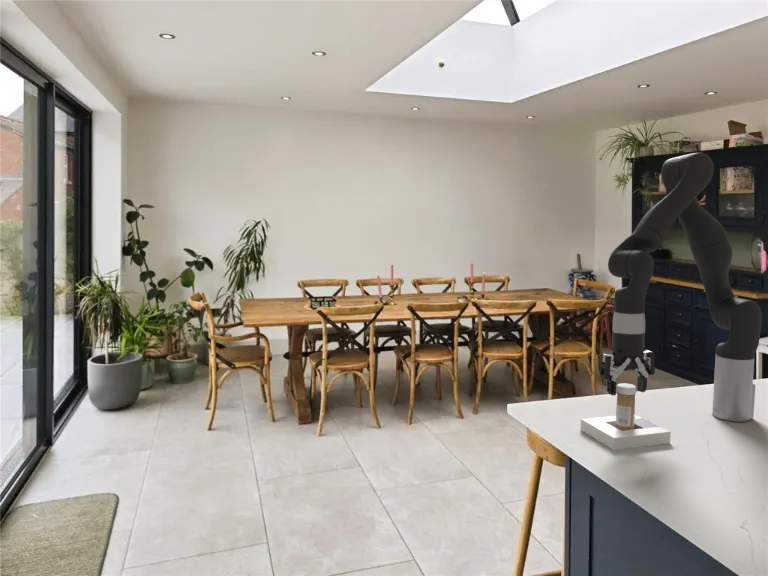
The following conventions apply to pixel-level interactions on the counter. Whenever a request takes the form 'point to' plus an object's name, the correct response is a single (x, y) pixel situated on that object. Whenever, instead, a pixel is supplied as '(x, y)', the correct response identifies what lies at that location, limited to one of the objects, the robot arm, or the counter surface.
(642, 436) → the housing
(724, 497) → the counter surface
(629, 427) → the sprinkles bottle
